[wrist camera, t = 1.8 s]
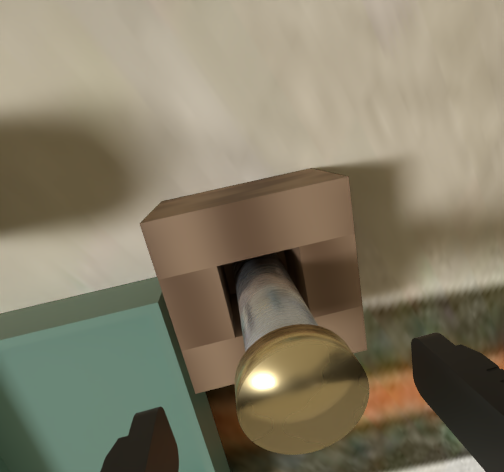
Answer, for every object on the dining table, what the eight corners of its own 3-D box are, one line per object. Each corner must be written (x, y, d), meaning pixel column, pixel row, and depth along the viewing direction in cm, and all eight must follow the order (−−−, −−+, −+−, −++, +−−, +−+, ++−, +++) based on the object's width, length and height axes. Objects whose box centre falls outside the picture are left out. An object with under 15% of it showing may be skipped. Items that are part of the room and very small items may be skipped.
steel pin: (277, 224, 20) (362, 329, 8) (287, 279, 21) (374, 435, 10) (218, 238, 20) (222, 364, 8) (231, 292, 21) (252, 468, 9)
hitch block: (310, 168, 20) (348, 176, 14) (329, 299, 23) (367, 349, 17) (161, 201, 20) (139, 223, 14) (200, 331, 23) (195, 393, 17)
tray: (168, 274, 21) (157, 302, 17) (231, 476, 27) (234, 530, 23) (-70, 330, 20) (-136, 372, 16) (50, 525, 26) (22, 590, 22)
